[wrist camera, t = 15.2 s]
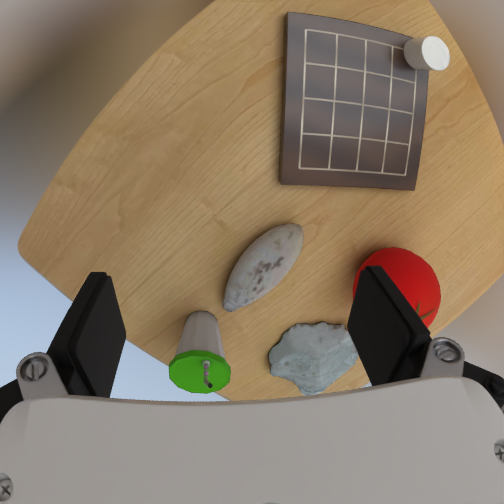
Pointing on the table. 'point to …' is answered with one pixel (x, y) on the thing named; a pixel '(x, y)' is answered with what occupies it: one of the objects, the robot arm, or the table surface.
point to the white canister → (426, 53)
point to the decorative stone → (263, 265)
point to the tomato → (409, 279)
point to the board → (349, 106)
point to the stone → (313, 356)
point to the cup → (200, 356)
